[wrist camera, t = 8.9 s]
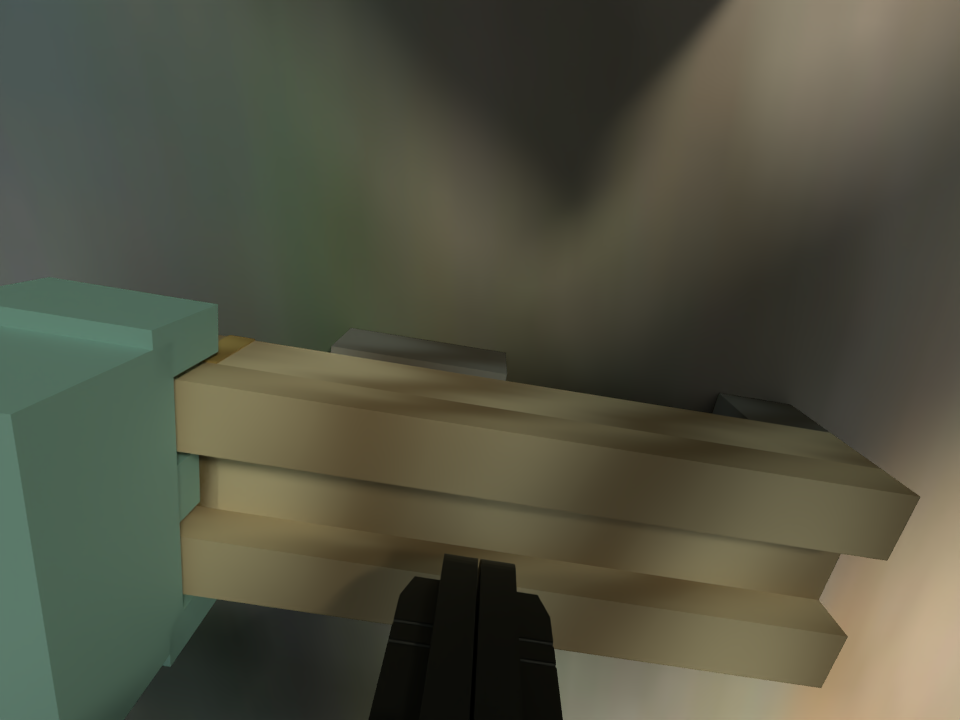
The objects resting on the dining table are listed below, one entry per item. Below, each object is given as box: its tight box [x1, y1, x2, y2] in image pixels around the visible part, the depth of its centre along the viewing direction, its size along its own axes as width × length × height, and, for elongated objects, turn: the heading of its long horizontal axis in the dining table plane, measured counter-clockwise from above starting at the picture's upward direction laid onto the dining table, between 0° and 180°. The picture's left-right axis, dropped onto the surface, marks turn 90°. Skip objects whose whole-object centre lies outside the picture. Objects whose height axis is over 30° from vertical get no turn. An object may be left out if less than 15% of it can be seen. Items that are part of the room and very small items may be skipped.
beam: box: [173, 328, 920, 688], centre depth 14 cm, size 24×6×6 cm, turn 81°
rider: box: [0, 277, 218, 720], centre depth 11 cm, size 4×9×5 cm, turn 171°
